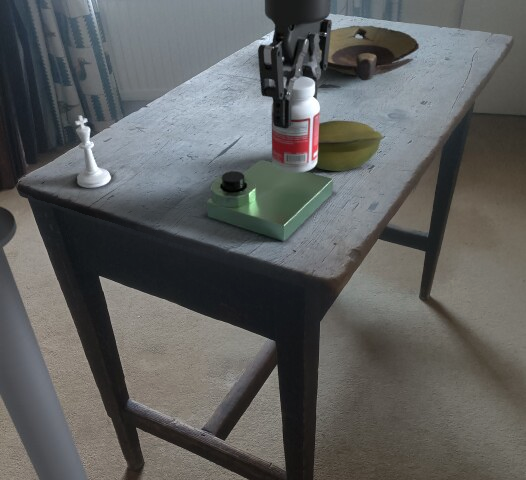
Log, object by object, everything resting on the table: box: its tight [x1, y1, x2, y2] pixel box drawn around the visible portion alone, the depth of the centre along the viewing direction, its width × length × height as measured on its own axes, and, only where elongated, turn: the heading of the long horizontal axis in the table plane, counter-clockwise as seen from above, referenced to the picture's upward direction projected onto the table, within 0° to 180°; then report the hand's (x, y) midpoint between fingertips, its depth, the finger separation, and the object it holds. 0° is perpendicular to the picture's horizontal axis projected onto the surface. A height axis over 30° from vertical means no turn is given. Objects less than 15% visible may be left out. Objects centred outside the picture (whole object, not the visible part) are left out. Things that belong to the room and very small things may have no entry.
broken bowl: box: [320, 25, 420, 82], centre depth 120 cm, size 22×30×8 cm
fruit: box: [314, 120, 384, 172], centre depth 89 cm, size 11×12×7 cm
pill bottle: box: [271, 76, 321, 173], centre depth 76 cm, size 6×6×11 cm
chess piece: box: [74, 114, 112, 189], centre depth 85 cm, size 5×5×10 cm
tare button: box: [221, 170, 245, 192], centre depth 78 cm, size 3×3×2 cm
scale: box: [206, 159, 334, 242], centre depth 81 cm, size 14×12×4 cm
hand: (295, 116), depth 75 cm, fingers closed on pill bottle, 6 cm apart
